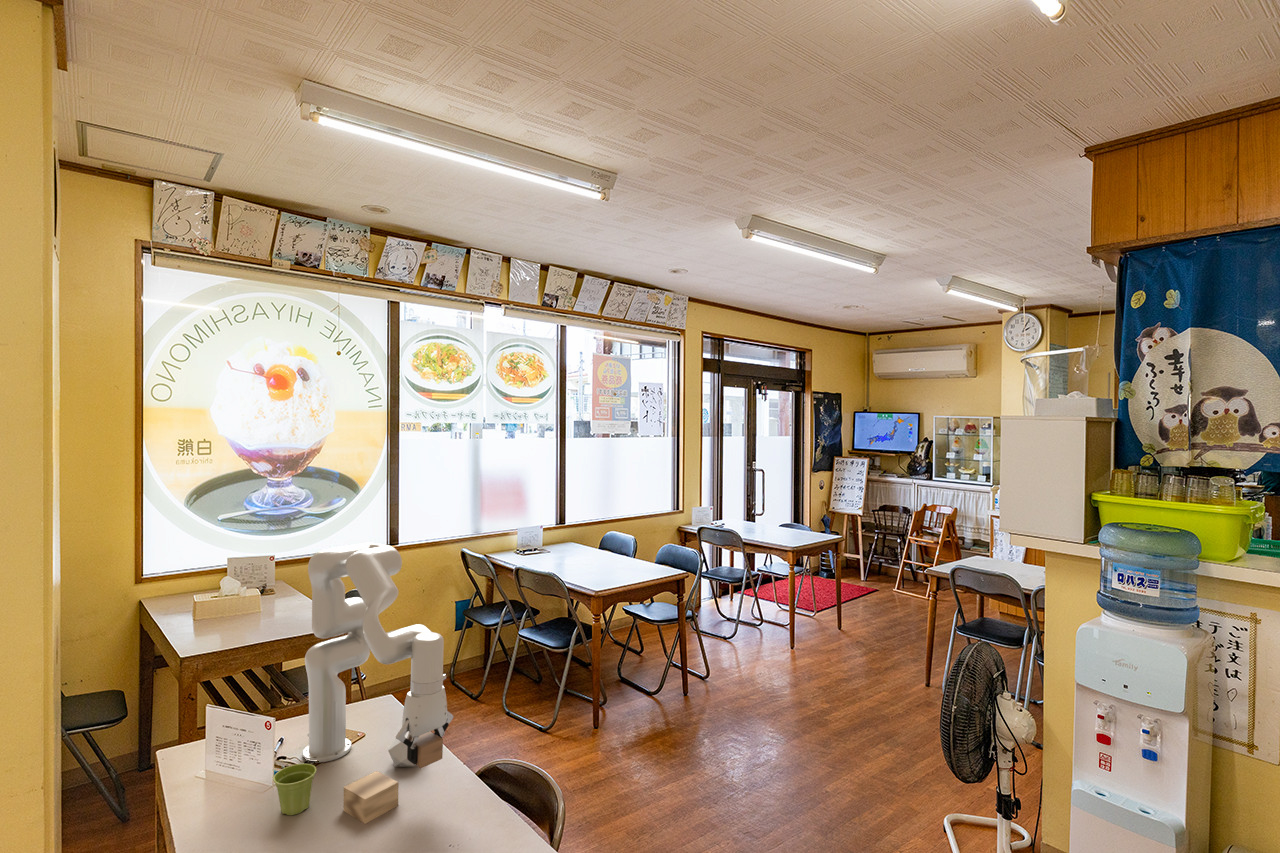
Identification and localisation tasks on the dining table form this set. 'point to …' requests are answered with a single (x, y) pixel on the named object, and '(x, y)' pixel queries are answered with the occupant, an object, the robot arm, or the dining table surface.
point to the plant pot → (294, 787)
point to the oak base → (370, 796)
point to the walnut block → (429, 749)
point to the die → (399, 753)
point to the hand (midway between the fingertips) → (424, 755)
